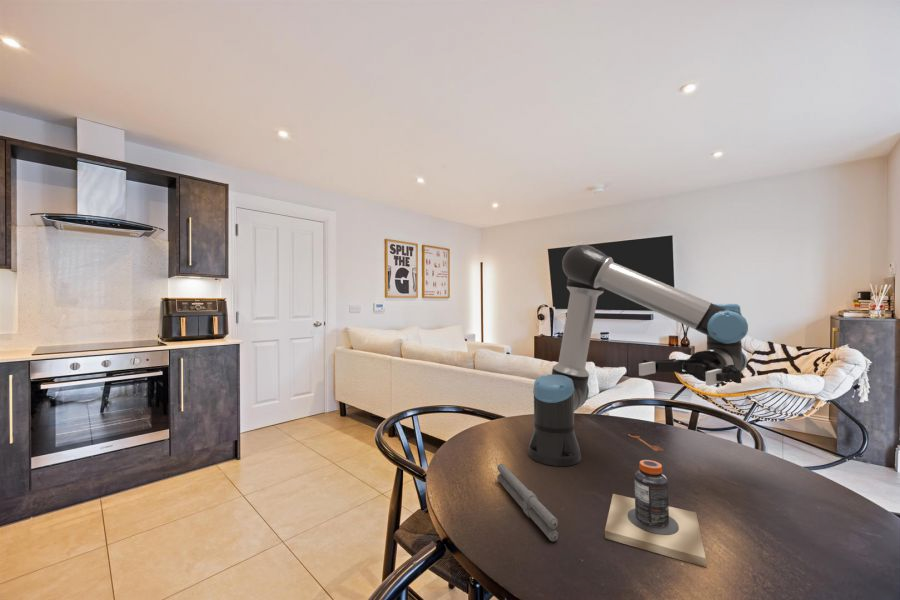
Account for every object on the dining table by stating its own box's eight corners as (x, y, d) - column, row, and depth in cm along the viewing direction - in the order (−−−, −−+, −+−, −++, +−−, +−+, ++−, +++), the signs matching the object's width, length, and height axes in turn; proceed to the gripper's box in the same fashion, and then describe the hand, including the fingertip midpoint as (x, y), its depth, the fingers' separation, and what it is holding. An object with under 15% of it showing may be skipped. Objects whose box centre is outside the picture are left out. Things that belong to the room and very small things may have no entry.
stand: (604, 538, 70) (604, 529, 70) (613, 500, 84) (612, 492, 84) (705, 567, 62) (705, 557, 62) (696, 519, 76) (696, 511, 76)
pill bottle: (666, 515, 74) (666, 460, 75) (670, 531, 69) (669, 471, 69) (634, 508, 77) (633, 455, 77) (635, 524, 71) (635, 466, 72)
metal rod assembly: (495, 482, 93) (495, 463, 93) (505, 481, 93) (505, 462, 94) (548, 546, 68) (548, 519, 68) (561, 543, 69) (561, 516, 69)
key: (668, 453, 112) (642, 436, 127) (669, 450, 112) (642, 433, 127) (650, 452, 112) (626, 435, 127) (650, 449, 112) (626, 432, 127)
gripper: (774, 388, 81) (742, 403, 69) (658, 373, 102) (617, 382, 89) (774, 355, 82) (741, 363, 69) (658, 346, 102) (617, 351, 89)
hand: (671, 374), depth 79 cm, fingers open, 13 cm apart
